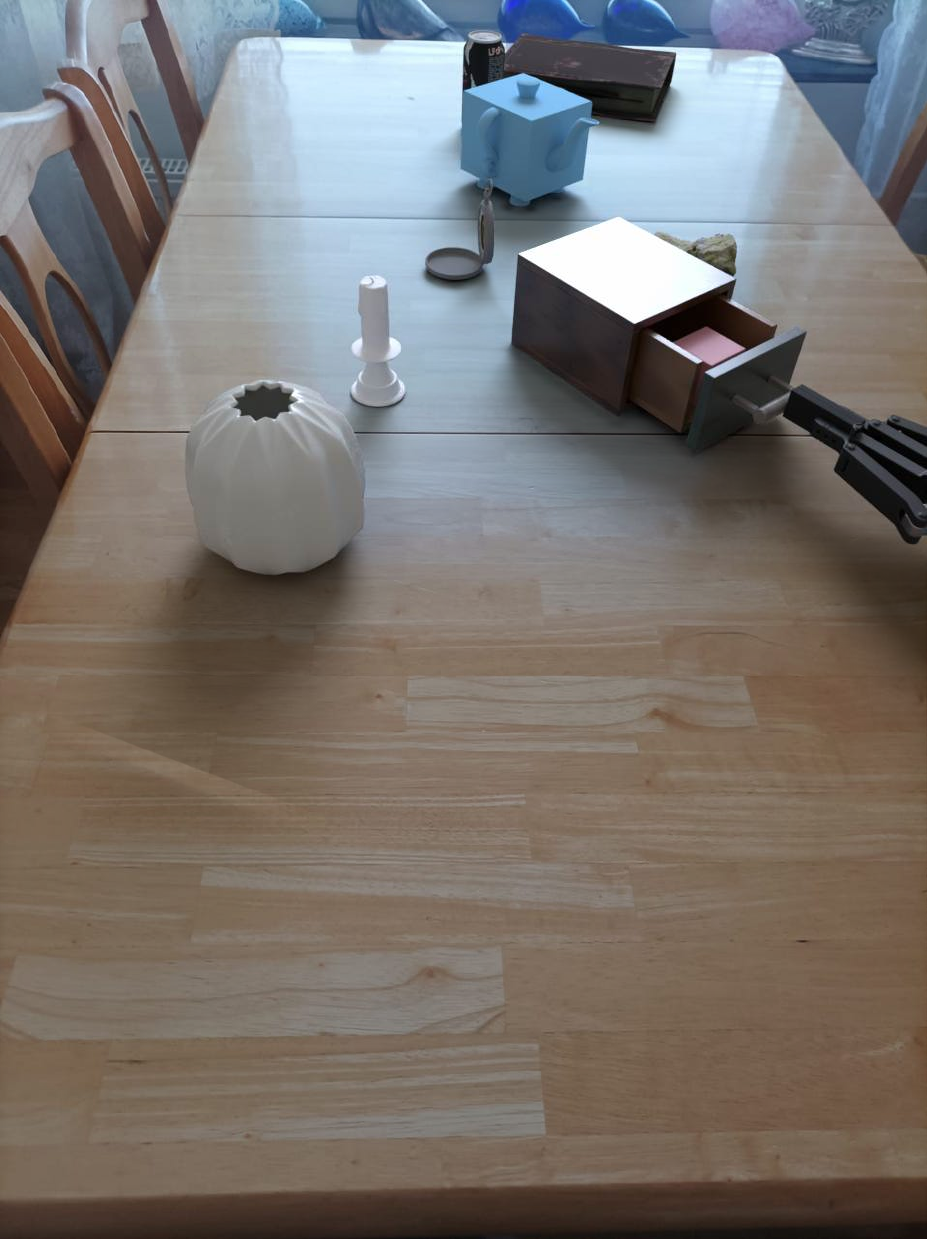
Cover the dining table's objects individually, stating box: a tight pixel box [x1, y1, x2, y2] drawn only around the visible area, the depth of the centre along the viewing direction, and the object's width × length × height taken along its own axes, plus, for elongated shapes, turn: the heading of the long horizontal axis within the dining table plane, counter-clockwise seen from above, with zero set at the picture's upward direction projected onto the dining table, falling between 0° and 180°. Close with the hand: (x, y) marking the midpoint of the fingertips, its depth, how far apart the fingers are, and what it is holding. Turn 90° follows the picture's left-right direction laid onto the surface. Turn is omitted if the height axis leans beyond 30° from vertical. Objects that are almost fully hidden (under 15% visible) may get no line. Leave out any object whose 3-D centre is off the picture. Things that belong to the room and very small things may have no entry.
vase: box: [184, 378, 367, 576], centre depth 72 cm, size 14×14×13 cm
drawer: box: [627, 294, 808, 454], centre depth 87 cm, size 18×13×8 cm
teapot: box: [460, 73, 600, 207], centre depth 117 cm, size 18×16×13 cm
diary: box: [504, 32, 677, 123], centre depth 145 cm, size 19×25×5 cm
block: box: [673, 327, 746, 407], centre depth 88 cm, size 5×5×5 cm
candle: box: [350, 274, 407, 408], centre depth 87 cm, size 5×5×12 cm
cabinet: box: [510, 216, 737, 417], centre depth 93 cm, size 16×14×10 cm
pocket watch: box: [424, 179, 496, 281], centre depth 104 cm, size 8×8×10 cm
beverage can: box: [461, 29, 506, 123], centre depth 131 cm, size 6×6×12 cm
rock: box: [653, 231, 738, 278], centre depth 106 cm, size 11×6×10 cm
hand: (792, 400), depth 81 cm, fingers closed
